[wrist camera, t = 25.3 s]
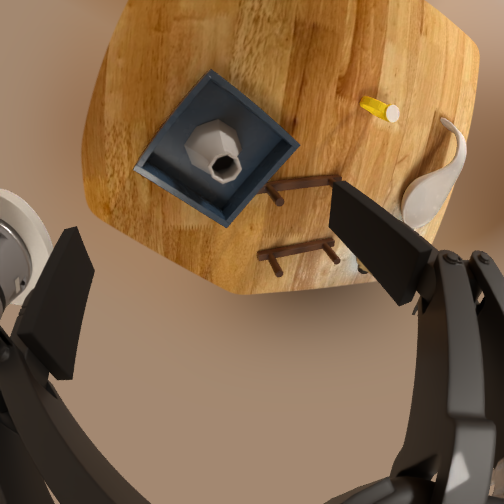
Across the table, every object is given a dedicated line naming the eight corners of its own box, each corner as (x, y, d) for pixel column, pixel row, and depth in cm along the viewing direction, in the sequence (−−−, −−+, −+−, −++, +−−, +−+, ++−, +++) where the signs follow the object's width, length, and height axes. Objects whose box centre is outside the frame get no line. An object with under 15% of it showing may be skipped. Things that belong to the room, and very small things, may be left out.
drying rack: (257, 257, 47) (267, 280, 42) (253, 183, 39) (264, 200, 34) (331, 242, 49) (347, 262, 44) (338, 174, 41) (358, 188, 37)
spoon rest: (415, 225, 53) (436, 243, 47) (383, 214, 48) (406, 233, 43) (456, 132, 41) (482, 143, 36) (429, 106, 37) (457, 115, 31)
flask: (219, 109, 31) (233, 117, 23) (250, 150, 35) (274, 173, 28) (174, 144, 32) (172, 165, 24) (208, 182, 37) (218, 214, 29)
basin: (221, 213, 40) (226, 228, 37) (137, 159, 33) (132, 169, 29) (287, 137, 36) (300, 145, 33) (207, 71, 28) (211, 68, 25)
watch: (350, 105, 35) (374, 111, 30) (357, 90, 34) (382, 94, 29) (377, 122, 37) (401, 130, 33) (383, 108, 36) (408, 115, 31)
